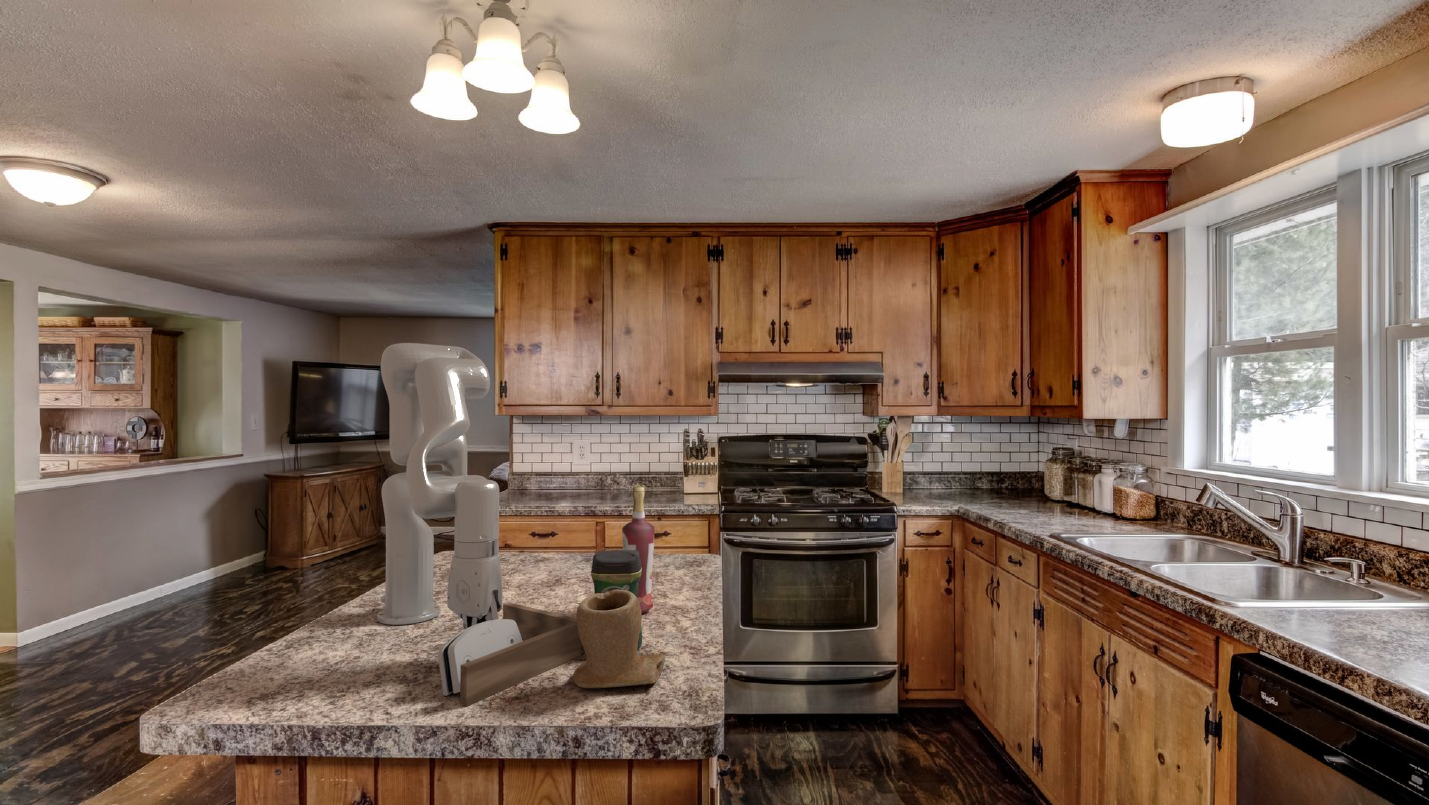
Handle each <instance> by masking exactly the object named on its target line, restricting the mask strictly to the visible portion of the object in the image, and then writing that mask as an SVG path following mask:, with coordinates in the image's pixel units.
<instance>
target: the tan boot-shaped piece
mask: <svg viewBox="0 0 1429 805" xmlns="http://www.w3.org/2000/svg"><path fill="white" fill-rule="evenodd" d="M642 617H643V616H642V614H641V607H640V603H639V601H638V598H637V597H636V596H635V595H634V594H633V593H631V592H629V591H626V590H612V591H609V592H606V593H597V594H594V593H592V594H591V595H589V596H587V597H585V598H584V599H583V600H582V601H581V602H580V603H579V604H578V606H577V609H576V618H577V626H578V633H579V637H580V640H581V643H582V645H583V648H584V650H585V653H586V654H585V656H586V657H585V658H586V661H583V662H581V663H580V665H579V666H577V668H576V669H575V670H574V672H573V675H572V676H573V677H572V680H573V682H574V683H575V684H576V685H577V687H580V688H584V689H605V688H607V689H608V688H620V687H629V686H631V687H632V686H640V685H649V684H650V685H651V684H655V683H656V682H658V680H659V678H660V677H661V675H662V672H663V670H664V666H665V660H666V654H639V652H638V650H637V647H638V640H639V634H640V628H641V627H642Z"/></svg>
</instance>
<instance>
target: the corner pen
mask: <svg viewBox="0 0 1429 805" xmlns="http://www.w3.org/2000/svg"><path fill="white" fill-rule="evenodd" d="M502 619H510V620H514V621H515V622H516V624H517V627H518V629H519V632H520V634H521V637H522V639H523V641H522V642H520V643H517V644H514V645H512V646H509V647H507V648H504V649H501V650H499V651H496V652H493V653H491V654H488V655H485V656H483V657H480V658H478V659H475V660H472V661H470V662H467V663H464V664H462V665H461V672H460V692H459V695H460V697H459V698H460V700H459V704H460V705H461V706H463V707H465V708H466V707H469V706H471V705H474V704H476V703H478V702H480V701H483V700H485V699H488V698H489V697H491V696H494V695H495V694H498V693H500V692H503V691H505V690H507V689H509V688H511V687H514V686H517V685H519V684H521V683H523V682H525V681H528V680H529V678H530V679H531V678H535V677H537V676H539V675H541V674H543V673H545V672H547V671H549V670H551V669H553V668H557V667H559V666H560V665H563V664H565V663H567V662H569V661H570V662H571V661H572V660H575V659H576V658H577V659H578V657H581V656H583V655H586V653H585V650H584V648H583V645H582V643H581V640H580V637H579V633H578V626H577V617H573V616H569V615H568V616H567V615H564V614H560V613H555V612H551V611H547V610H543V609H538V608H534V607H530V606H527V605H526V606H525V605H521V604H518V603H517V604H516V603H515V602H514V603H512V602H507V603H502ZM482 699H483V700H482Z"/></svg>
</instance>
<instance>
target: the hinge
mask: <svg viewBox="0 0 1429 805" xmlns="http://www.w3.org/2000/svg"><path fill="white" fill-rule="evenodd" d="M522 641H524V640H522V637H521V634H520V632H519V629H518V627H517V624H516V622H515V621H514V620H510V619H503V618H502V619H501V618H498V620H490V621H486V622H482V623H479V624H476V625H473V626H471V627H469V628H467V629H463V630H462V631H461V632H459V633H457V634H456V635H454V636H453V637H452V638H450V639H449V640H448V641H447V642H445V644H444V645H442V646H441V647H440V649H439V650H438V652H437V657H438V664H439V665H438V666H439V672H440V673H439V674H440V679H441V687H442V695H444V696H445V697H446V696H449V695H450V694H457V693H458V694H459V693H460V672H461V665H462V664H464V663H467V662H470V661H472V660H475V659H478V658H480V657H483V656H485V655H488V654H491V653H493V652H496V651H499V650H501V649H504V648H507V647H509V646H512V645H514V644H517V643H520V642H522ZM444 696H443V697H444Z"/></svg>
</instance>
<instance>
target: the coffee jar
mask: <svg viewBox="0 0 1429 805" xmlns="http://www.w3.org/2000/svg"><path fill="white" fill-rule="evenodd" d="M591 564H592V565H591V571H590V576H591V580H592V582H593V590H594V591H593V592H594V593H593V594H597V593H606V592H609V591H612V590H626V591H629V592H631V593H633V594H634V595H635V596H636V597H637V598H638V601H639V595H638V583H639V579H640V577H641V573H642V567H641V561H640V555H639V552H638V551H637V550H623V549H607V550H598V551H596V552H595V553H594V554H593V558H592V563H591ZM642 628H643V627H642V626H641V628H640V634H639V640H638V647H637V651H638V650H639V649H640V648H641V647H642V644H643V630H642Z"/></svg>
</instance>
